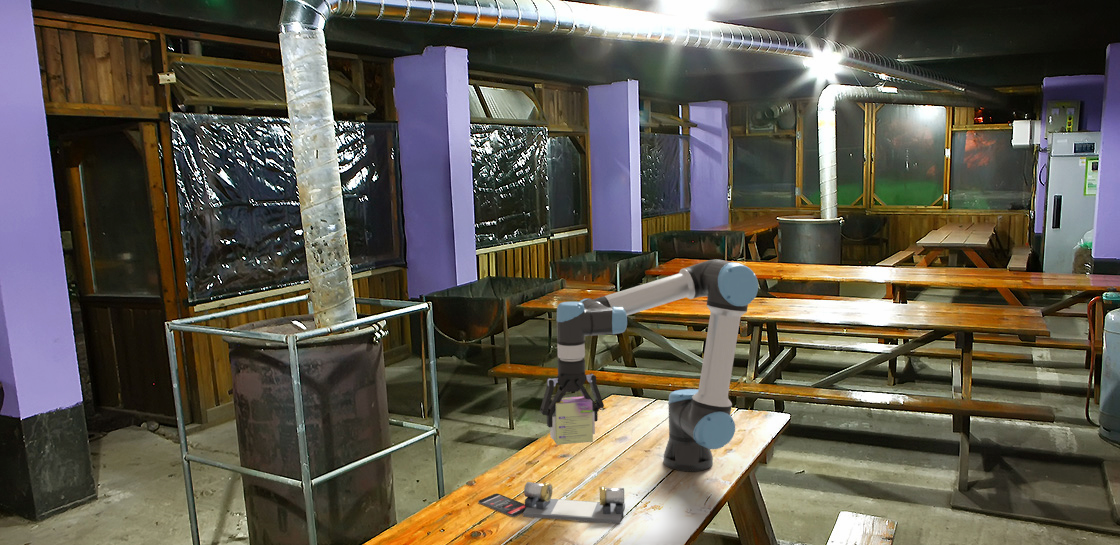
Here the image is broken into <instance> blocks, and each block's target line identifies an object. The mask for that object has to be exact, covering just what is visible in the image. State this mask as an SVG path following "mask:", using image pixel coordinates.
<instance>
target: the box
mask: <svg viewBox="0 0 1120 545" xmlns="http://www.w3.org/2000/svg"><path fill="white" fill-rule="evenodd" d="M552 400H553V398H551V401H552ZM592 400H593V399H592ZM592 400H591V399H586V398H584V396H583V395H582V396H570V397H563V398H562V400H561V401H560V402H559V403H556V406H555V412H554V414H553V415H554V416H555V417H556V439H555V440H553V441H554V443H555V444H556V445H557V446H561V445H571V444H581V443H582V444H583V443H585V444H586V443H593V442H594V434H593V415H592Z"/></svg>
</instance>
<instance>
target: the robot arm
mask: <svg viewBox="0 0 1120 545" xmlns="http://www.w3.org/2000/svg"><path fill="white" fill-rule="evenodd" d="M758 281H759V280H758V277H757V275H756V273H755V272H754V271H753V270H752V269H751V268H750V267H748V266H746V265H744V264H742V263H739V262H734V261H728V260H723V259H717V258H716V259H715V258H714V259H709V260H705V261H703V262H699V263H696V264H694V265H693V264H692V265H691V266H687V267H684V268H681V269H680V270H679V272H678V273H676V274H672V275H669V276H666V277H662V278H659V279H656V280H653V281H650V282H646V283H643V284H639V285H636V286H633V287H630V288H627V289H623V290H621V291H617V292H614V293H610V294H607V295H603V296H600V297H597V298H593V299H592V298H583V299H581V300H579V301H562V302H560V303H559V304H558V305H557V308H556V319H555V321H556V330H557V331H556V332H557V333H556V336H557V341H556V342H557V358H558V359H557V376H556V378H550V377H547V379H546V389H545V392H544V395H543V399H542V402H541V405H540V408H539V413H540V414H542V415H543V416H546V426H547V427H548V428H549V433H550V436H549V437H550V438H551V439H552V440H553V441H554V440H555V439H556V417H555V416H554V415H553V414H554V412H555V406H556V403H559V402H560V401H561V400H562V398H564V396H565V395H566V393H572V392H577V393H578V392H580V394H581V395H582V396H584V398H586V399H591V400H592V415H593V435H595V434H596V432H595V431H596V430H595V429H596V428H595V427H596V425H595V424H596V423H595V422H598V420H599V419H598V413H599V411H600V409H604V407H605V404H604V402H603V399H602V396H601V393H600V391H599V388H598V387H599V386H598V385H597V376H596V375H595V374H593V373H592V372H591V373H589V374H586V359H585V356H586V350H585V348H586V346H585V345H586V344H585V342H586V341H585V338H586V337H589V336H590V337H591V336H603V335H604V336H605V335H612V336H613V335H618V334H622V333H625V332H626V329H627V326H628V316H631V315H633V314H636V313H640V312H643V311H647V310H650V309H652V308H656V307H659V306H662V305H666V304H670V303H673V302H675V301H678V300H681V299H684V298H687V299H689V300H692V299H693V300H694V299H696V298H702V297H703V298H704V297H706V298H707V300H706V307H707V308H708V310H709V312H710V314H709V321H708V328H707V334H706V340H705V346H704V354H703V359H702V365H701V366H702V367H701V372H700V378H699V384H698V388H697V389H696V388H693V389H692V388H687V389H677V390H674V391H671V392H670V393H669V395H668V402H667V404H668V440H667V444H666V446H665V449H664V453H663V464H664V465H665V467H668V468H670V469H672V470H676V471H682V472H699V471H700V472H701V471H704V470H708V469H709V468H711V467H712V466H713V464H714V462H713V460H714V457H713V454H712V450H718V449H722V448H723V447H725V446H726V445H728V444H729V443H730V442H731V440H732V439H733V438H734V435H735V432H736V422H735V420H734V419H733V416H731V413H732V407H733V403H732V401H731V400H730V399H729V392H730V385H731V379H732V378H731V377H732V372H733V368H734V360H735V353H736V349H737V348H736V346H737V341H738V334H739V330H740V329H739V328H740V322H741V317H742V316H743V315H745V314H747V312H748V307H749V304H751V303H752V301H754V300H755V299H756V297H757V295H758V292H759V291H758V290H759V282H758ZM586 381H587V382H588V383H589V386H590V389H591V392H592V395H593V397H594V400H595V401H594V400H593V398H592V397H591V395H590V394H589V393H588V391H587V390H586V388H585V386H584V385H585V383H586ZM556 384H558V385H559V386H558V388H557V391H556V393H555V395H554V396H553V393H554V388H555V387H556V386H557V385H556ZM552 396H553V398H552ZM552 399H553V400H552Z"/></svg>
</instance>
